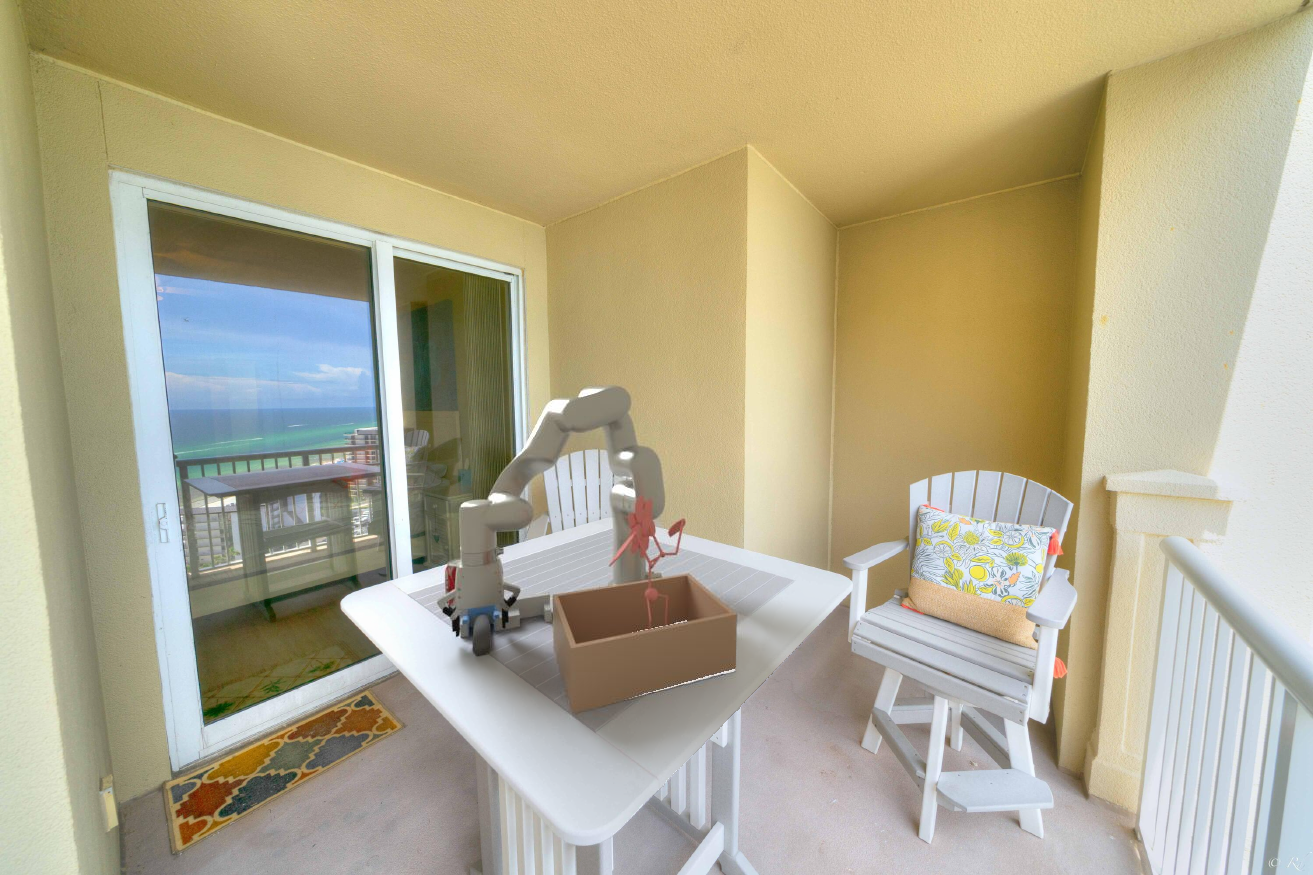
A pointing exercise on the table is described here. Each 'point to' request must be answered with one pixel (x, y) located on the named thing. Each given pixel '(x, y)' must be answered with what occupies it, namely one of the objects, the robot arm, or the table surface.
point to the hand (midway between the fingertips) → (481, 629)
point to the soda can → (451, 579)
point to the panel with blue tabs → (518, 610)
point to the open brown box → (639, 639)
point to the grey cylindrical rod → (481, 635)
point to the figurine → (647, 542)
